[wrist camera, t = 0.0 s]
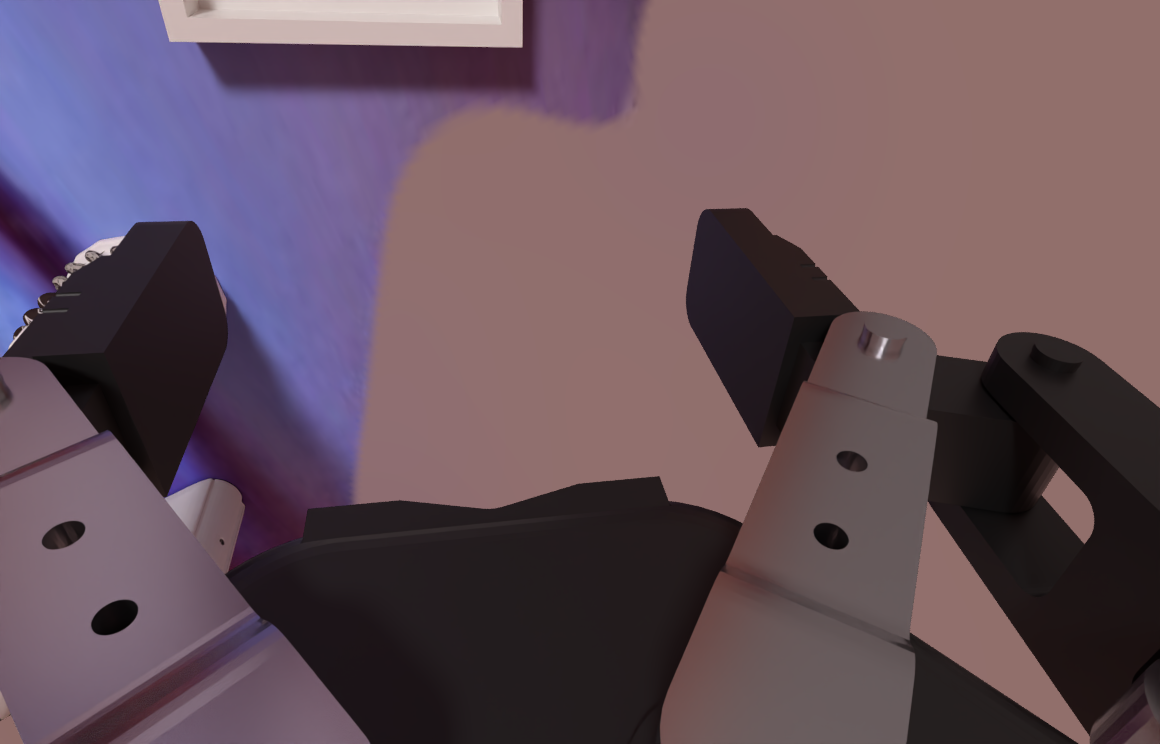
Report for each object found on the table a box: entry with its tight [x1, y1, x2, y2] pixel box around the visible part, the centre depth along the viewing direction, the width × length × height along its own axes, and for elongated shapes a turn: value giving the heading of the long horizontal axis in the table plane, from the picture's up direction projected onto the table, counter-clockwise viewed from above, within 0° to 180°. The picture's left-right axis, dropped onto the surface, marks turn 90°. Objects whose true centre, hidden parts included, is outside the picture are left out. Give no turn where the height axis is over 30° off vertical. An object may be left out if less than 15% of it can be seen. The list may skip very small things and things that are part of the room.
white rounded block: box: [165, 479, 245, 574], centre depth 47 cm, size 10×4×12 cm, turn 115°
